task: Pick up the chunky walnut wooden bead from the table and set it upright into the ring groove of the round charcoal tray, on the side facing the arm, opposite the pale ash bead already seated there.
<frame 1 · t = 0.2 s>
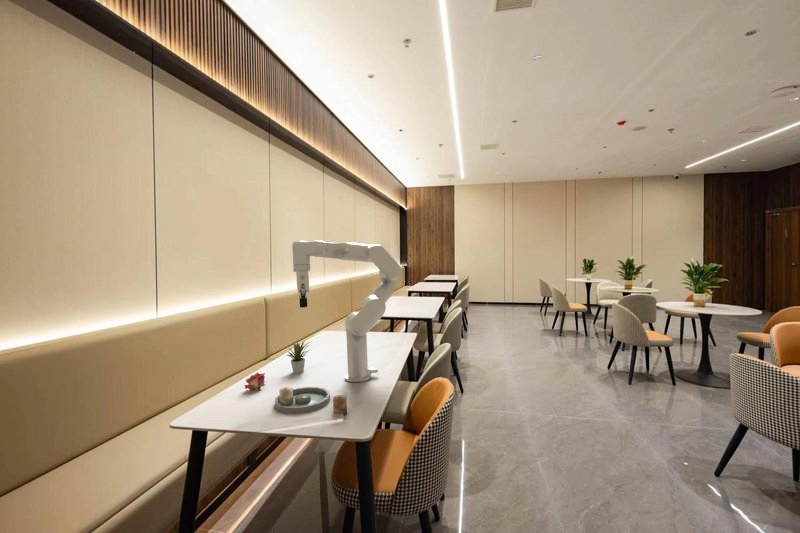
hand: (303, 305, 163), 37 cm above the table, tool pointing down, fingers open, 9 cm apart
flower: (255, 390, 160), on the table
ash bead: (286, 404, 141), point 1 cm above the table, touching groove tray
groove tray: (303, 404, 143), on the table
house plant: (300, 372, 184), on the table
walnut bead: (340, 413, 133), on the table
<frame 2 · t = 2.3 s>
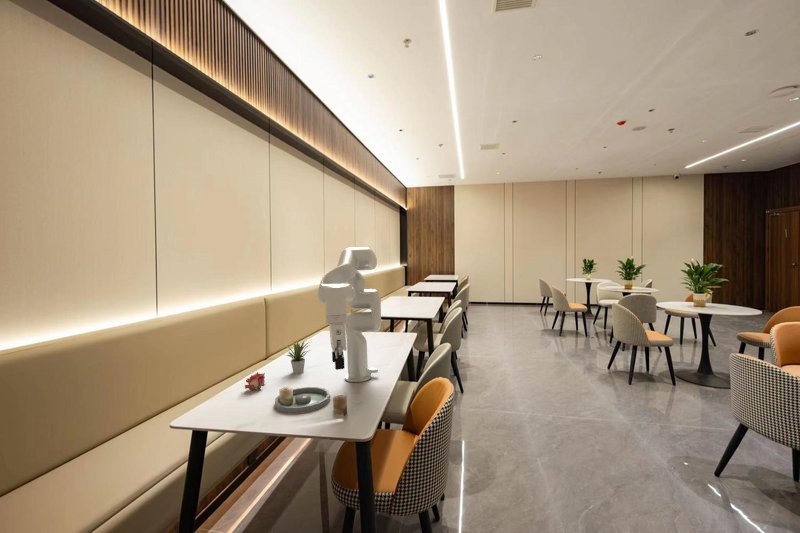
hand: (338, 365, 132), 18 cm above the table, tool pointing down, fingers open, 9 cm apart
nothing on the table moved.
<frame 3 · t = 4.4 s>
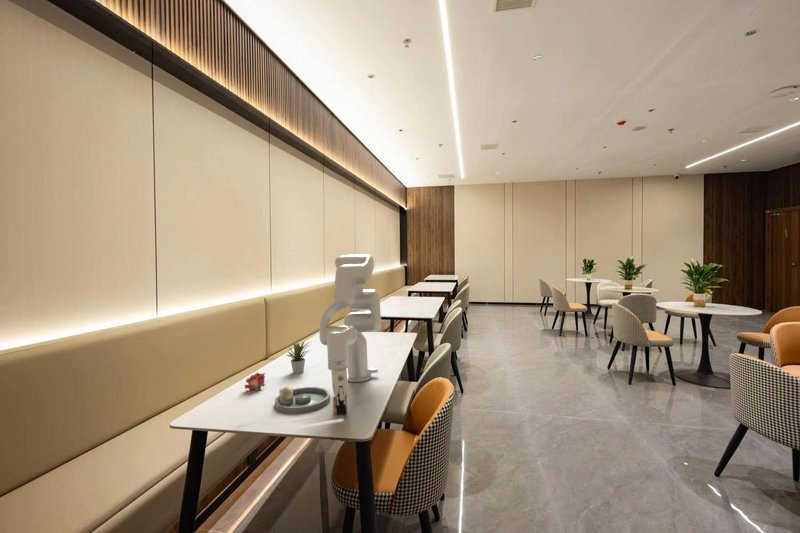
hand: (340, 411, 133), 1 cm above the table, tool pointing down, fingers closed on walnut bead, 4 cm apart
walnut bead: (340, 413, 133), on the table, touching gripper
everything else where it was.
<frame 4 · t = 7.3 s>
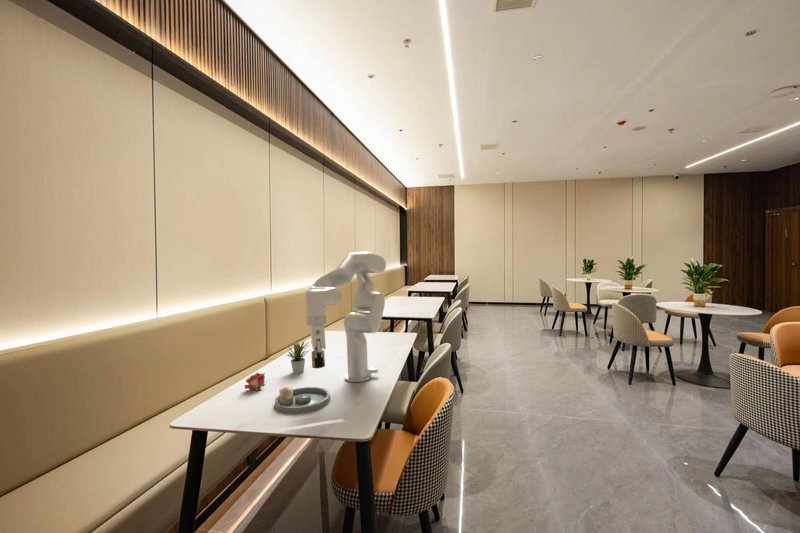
hand: (318, 364, 144), 15 cm above the table, tool pointing down, fingers closed on walnut bead, 4 cm apart
walnut bead: (318, 366, 144), point 15 cm above the table, touching gripper
everything else where it was.
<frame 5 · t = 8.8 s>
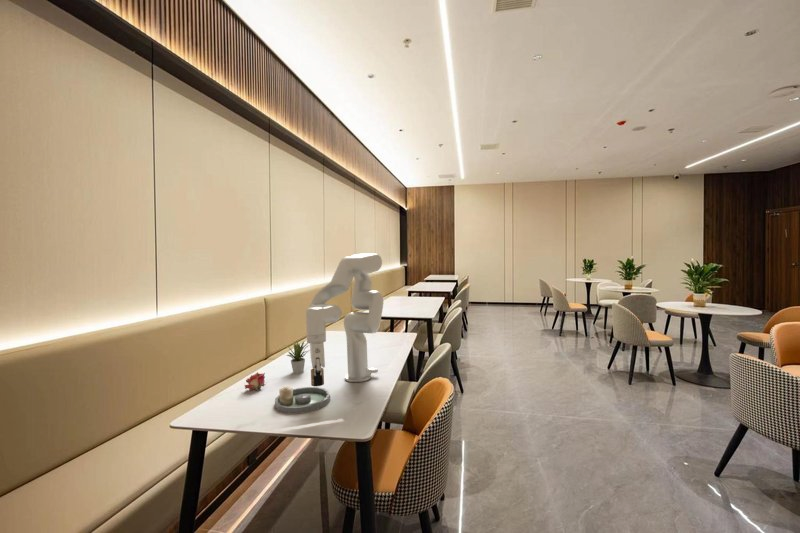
hand: (317, 382, 144), 8 cm above the table, tool pointing down, fingers closed on walnut bead, 4 cm apart
walnut bead: (317, 384, 144), point 7 cm above the table, touching gripper
everything else where it was.
when the fingers open (3 cm above the table, at t = 10.0 s): walnut bead drops 2 cm, resting on groove tray.
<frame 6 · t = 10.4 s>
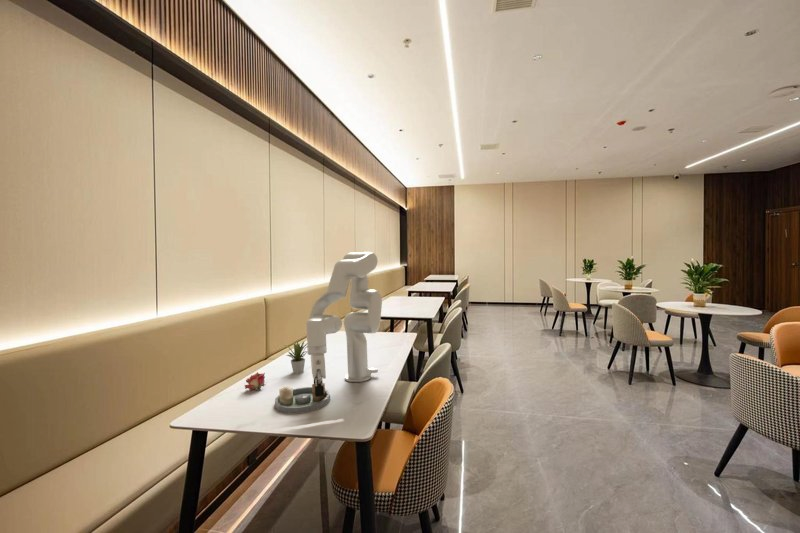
hand: (318, 391, 144), 4 cm above the table, tool pointing down, fingers open, 8 cm apart
walnut bead: (319, 399, 144), point 1 cm above the table, touching groove tray
everything else where it was.
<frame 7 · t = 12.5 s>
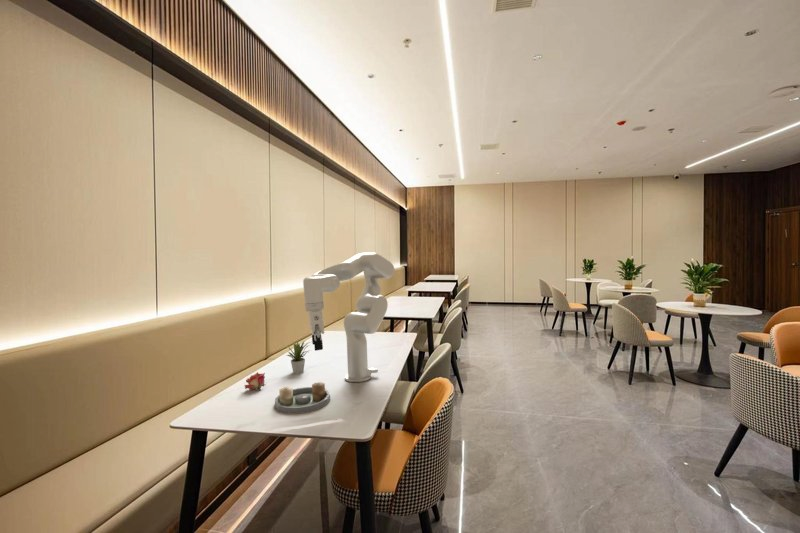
hand: (317, 346, 150), 21 cm above the table, tool pointing down, fingers open, 9 cm apart
nothing on the table moved.
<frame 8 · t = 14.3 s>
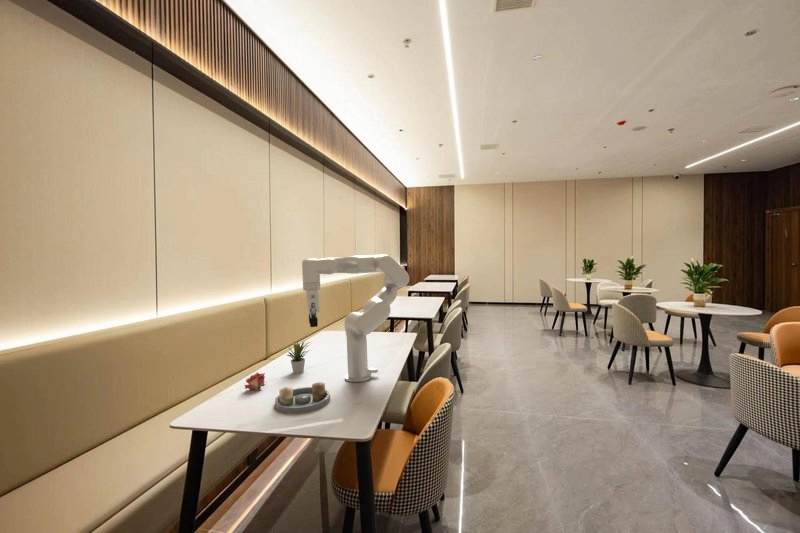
hand: (313, 324, 160), 28 cm above the table, tool pointing down, fingers open, 9 cm apart
nothing on the table moved.
at the end: walnut bead 0.0 cm from the target spot on the groove tray, point 1.0 cm above the groove tray's base; walnut bead tilted 0°; the gripper is holding nothing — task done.
